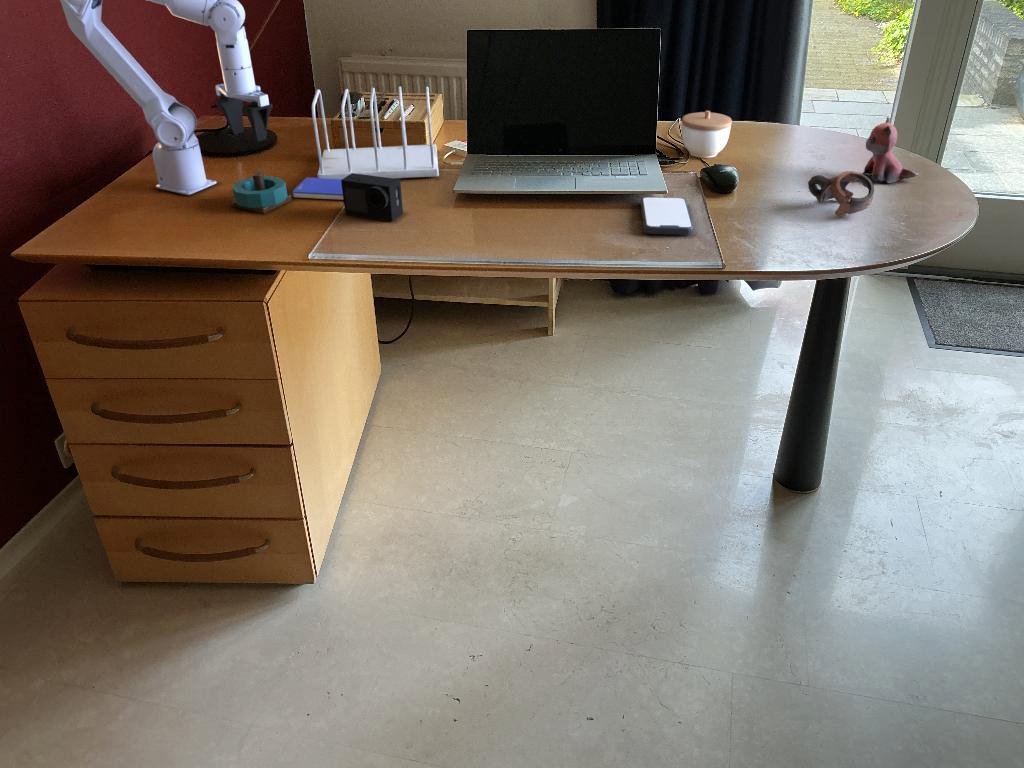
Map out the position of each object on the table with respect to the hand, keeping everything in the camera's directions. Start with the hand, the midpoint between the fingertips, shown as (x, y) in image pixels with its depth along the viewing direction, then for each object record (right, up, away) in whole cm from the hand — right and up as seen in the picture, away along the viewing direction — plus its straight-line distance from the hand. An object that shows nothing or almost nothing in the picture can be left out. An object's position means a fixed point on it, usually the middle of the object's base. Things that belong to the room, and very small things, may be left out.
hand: (249, 136), depth 173 cm
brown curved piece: (+115, -17, -9) cm, 116 cm away
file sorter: (+24, -3, +13) cm, 28 cm away
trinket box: (+96, +2, +19) cm, 98 cm away
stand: (+4, -14, -4) cm, 15 cm away
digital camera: (+26, -18, -9) cm, 33 cm away
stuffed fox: (+130, -8, +4) cm, 131 cm away
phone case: (+82, -19, -12) cm, 85 cm away
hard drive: (+16, -11, +1) cm, 20 cm away
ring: (+4, -13, -4) cm, 15 cm away
